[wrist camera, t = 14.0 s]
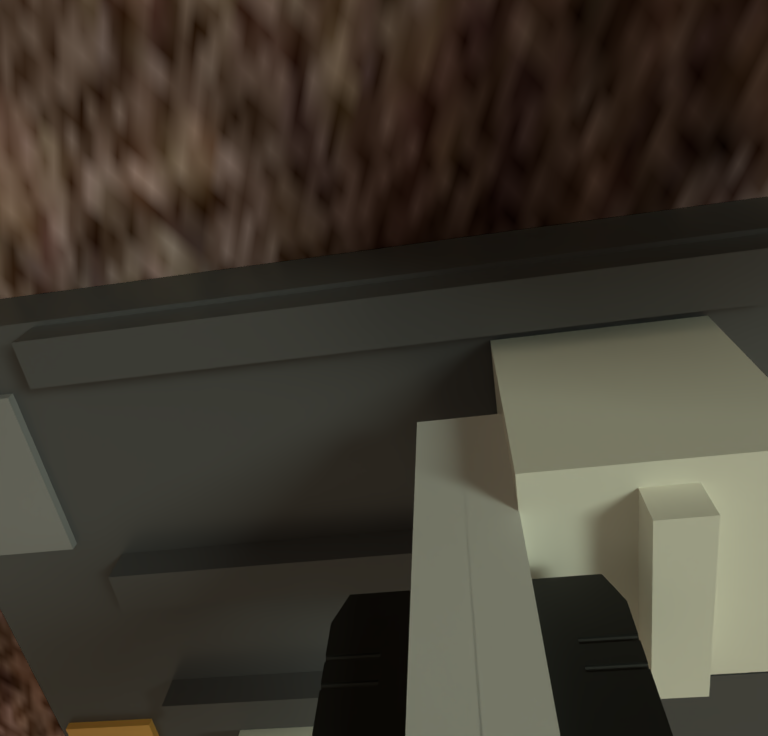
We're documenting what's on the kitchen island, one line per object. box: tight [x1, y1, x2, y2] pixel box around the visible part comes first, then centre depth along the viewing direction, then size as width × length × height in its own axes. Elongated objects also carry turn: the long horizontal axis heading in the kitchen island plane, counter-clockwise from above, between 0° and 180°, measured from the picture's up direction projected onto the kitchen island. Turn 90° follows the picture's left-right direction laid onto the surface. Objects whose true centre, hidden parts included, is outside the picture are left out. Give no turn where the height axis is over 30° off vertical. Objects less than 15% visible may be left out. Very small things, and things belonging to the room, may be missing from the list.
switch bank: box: [0, 197, 768, 736], centre depth 17 cm, size 17×28×3 cm, turn 99°
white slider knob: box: [490, 315, 768, 699], centre depth 12 cm, size 4×4×5 cm
